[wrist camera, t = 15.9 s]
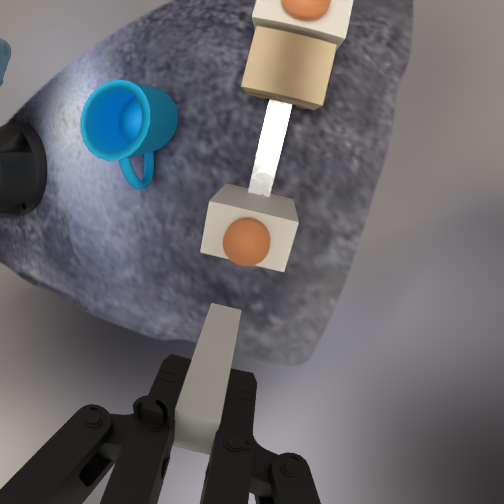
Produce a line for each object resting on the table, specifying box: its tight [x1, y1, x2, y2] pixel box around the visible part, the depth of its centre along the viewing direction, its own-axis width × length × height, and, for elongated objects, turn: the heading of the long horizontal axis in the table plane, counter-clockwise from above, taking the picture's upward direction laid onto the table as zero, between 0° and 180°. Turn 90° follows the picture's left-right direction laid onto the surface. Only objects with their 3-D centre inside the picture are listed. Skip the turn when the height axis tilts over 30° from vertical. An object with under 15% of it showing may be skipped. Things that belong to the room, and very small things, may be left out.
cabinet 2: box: [252, 0, 353, 50], centre depth 22 cm, size 8×5×9 cm, turn 77°
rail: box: [248, 99, 292, 197], centre depth 30 cm, size 2×17×2 cm, turn 167°
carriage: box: [241, 26, 337, 110], centre depth 25 cm, size 7×6×8 cm
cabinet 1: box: [200, 183, 299, 272], centre depth 31 cm, size 8×5×9 cm, turn 77°
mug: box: [81, 80, 178, 189], centre depth 29 cm, size 12×8×8 cm
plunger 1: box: [223, 218, 270, 266], centre depth 28 cm, size 4×4×5 cm
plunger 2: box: [281, 0, 331, 20], centre depth 19 cm, size 4×4×5 cm
